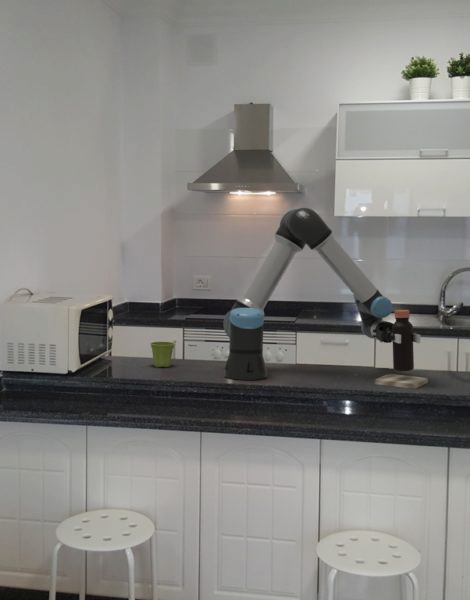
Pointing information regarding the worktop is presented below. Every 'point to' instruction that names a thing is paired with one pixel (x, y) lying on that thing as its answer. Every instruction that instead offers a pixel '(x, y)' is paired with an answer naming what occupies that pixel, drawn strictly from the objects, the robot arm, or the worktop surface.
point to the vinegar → (403, 342)
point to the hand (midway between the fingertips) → (409, 339)
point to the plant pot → (162, 353)
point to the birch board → (401, 381)
